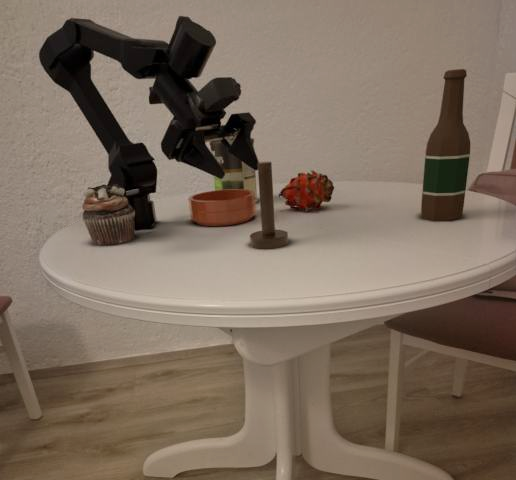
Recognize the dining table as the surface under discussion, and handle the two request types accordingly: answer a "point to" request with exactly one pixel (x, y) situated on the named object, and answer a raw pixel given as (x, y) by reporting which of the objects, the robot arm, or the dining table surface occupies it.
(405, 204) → the dining table surface
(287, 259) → the dining table surface
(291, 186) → the dragon fruit
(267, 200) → the wooden peg on disc
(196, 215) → the bowl
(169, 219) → the dining table surface
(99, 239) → the cupcake
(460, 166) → the beer bottle
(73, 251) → the dining table surface
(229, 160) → the coffee can
